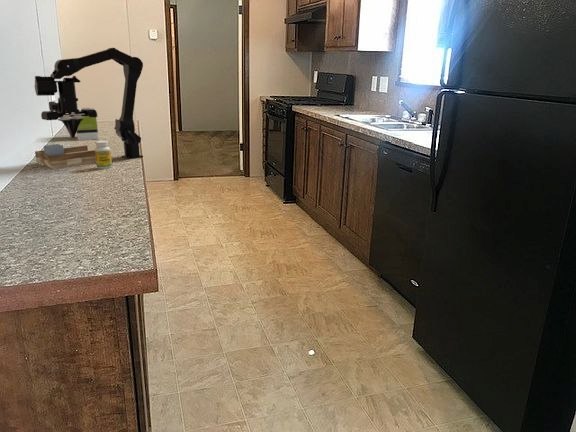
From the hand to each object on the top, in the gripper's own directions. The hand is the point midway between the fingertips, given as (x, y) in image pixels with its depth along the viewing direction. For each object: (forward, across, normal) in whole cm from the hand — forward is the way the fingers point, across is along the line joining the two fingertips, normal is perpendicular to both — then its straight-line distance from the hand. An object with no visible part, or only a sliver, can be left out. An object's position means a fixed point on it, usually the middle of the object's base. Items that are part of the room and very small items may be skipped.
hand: (72, 137), depth 178 cm
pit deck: (+10, +1, -3) cm, 10 cm away
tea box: (+10, -33, -58) cm, 68 cm away
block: (+7, +8, 0) cm, 10 cm away
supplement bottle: (+10, -3, +16) cm, 19 cm away
